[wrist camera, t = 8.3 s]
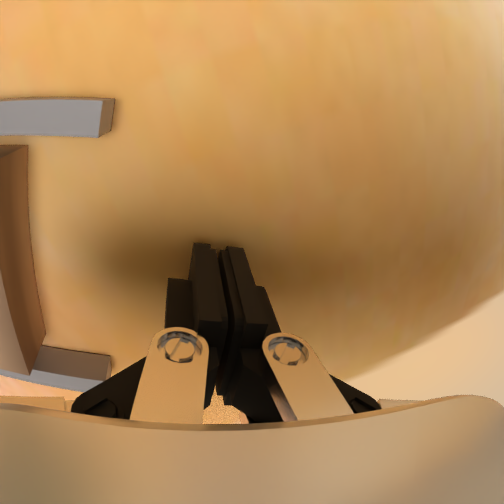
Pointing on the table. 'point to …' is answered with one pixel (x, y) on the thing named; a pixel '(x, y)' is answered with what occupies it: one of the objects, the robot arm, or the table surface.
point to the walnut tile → (17, 267)
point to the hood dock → (77, 125)
